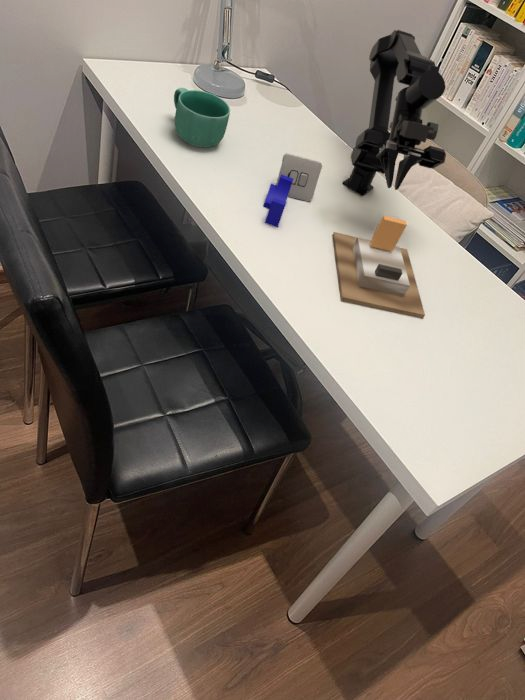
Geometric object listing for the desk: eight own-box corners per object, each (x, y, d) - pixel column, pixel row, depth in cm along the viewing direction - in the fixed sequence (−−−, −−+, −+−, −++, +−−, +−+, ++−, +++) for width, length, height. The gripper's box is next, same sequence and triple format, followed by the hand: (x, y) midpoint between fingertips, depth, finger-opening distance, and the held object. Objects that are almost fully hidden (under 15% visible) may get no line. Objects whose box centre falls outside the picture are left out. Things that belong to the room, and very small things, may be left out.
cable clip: (267, 194, 134) (274, 172, 130) (285, 200, 135) (293, 178, 130) (258, 221, 126) (265, 198, 122) (277, 228, 126) (285, 205, 122)
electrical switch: (273, 194, 135) (284, 156, 129) (272, 184, 139) (283, 147, 133) (311, 203, 137) (324, 167, 131) (309, 193, 141) (321, 157, 135)
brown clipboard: (332, 235, 130) (341, 213, 125) (405, 252, 133) (416, 231, 129) (340, 300, 115) (352, 278, 111) (422, 318, 118) (436, 297, 114)
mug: (231, 151, 143) (240, 115, 136) (189, 156, 136) (196, 118, 129) (196, 116, 150) (203, 81, 143) (154, 119, 143) (160, 82, 136)
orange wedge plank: (370, 246, 123) (370, 242, 124) (392, 251, 124) (391, 247, 125) (384, 219, 118) (383, 215, 119) (406, 225, 119) (405, 220, 120)
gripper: (381, 90, 113) (366, 168, 114) (466, 115, 117) (451, 190, 117) (361, 110, 124) (347, 181, 125) (439, 132, 128) (425, 201, 128)
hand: (392, 188), depth 123 cm, fingers closed
